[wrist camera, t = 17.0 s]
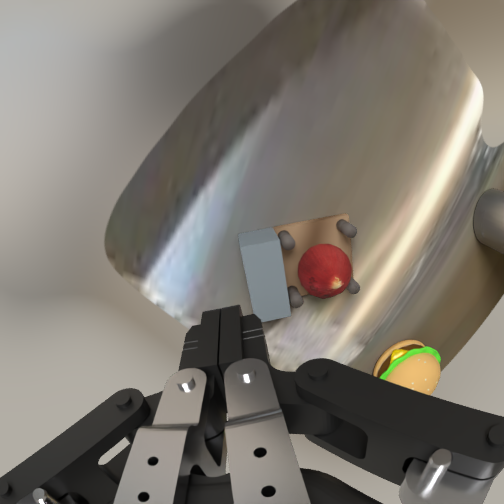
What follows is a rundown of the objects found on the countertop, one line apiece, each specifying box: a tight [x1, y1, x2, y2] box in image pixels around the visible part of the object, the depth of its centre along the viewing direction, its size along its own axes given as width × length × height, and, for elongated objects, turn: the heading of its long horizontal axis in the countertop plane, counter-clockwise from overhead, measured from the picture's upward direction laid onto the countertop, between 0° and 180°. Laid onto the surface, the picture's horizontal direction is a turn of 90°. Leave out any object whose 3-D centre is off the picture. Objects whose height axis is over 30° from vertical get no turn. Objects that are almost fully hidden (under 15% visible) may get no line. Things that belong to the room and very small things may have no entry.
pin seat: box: [273, 213, 360, 308], centre depth 35 cm, size 13×9×4 cm
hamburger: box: [373, 340, 441, 395], centre depth 41 cm, size 12×12×9 cm
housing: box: [238, 227, 291, 322], centre depth 35 cm, size 4×9×5 cm, turn 10°
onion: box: [298, 244, 352, 299], centre depth 32 cm, size 6×6×8 cm
